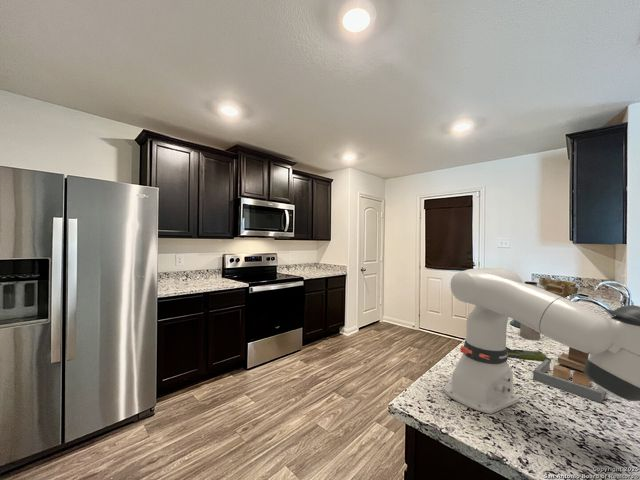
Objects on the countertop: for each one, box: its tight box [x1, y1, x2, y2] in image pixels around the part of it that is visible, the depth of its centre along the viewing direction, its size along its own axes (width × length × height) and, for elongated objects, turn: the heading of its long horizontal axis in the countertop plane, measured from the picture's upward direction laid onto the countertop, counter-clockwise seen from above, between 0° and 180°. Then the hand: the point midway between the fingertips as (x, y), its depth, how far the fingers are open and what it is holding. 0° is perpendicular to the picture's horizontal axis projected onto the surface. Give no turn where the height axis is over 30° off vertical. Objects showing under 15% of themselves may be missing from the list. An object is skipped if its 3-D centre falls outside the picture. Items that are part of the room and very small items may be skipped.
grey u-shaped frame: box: [532, 359, 607, 404], centre depth 90 cm, size 16×16×3 cm
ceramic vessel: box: [538, 276, 579, 298], centre depth 207 cm, size 23×24×25 cm
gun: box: [506, 346, 552, 363], centre depth 115 cm, size 2×19×15 cm
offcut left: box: [552, 364, 572, 381], centre depth 95 cm, size 4×4×3 cm
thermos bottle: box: [519, 281, 541, 341], centre depth 133 cm, size 8×8×28 cm
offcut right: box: [572, 370, 592, 388], centre depth 90 cm, size 4×4×3 cm
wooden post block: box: [557, 347, 590, 373], centre depth 101 cm, size 8×10×14 cm
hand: (577, 344), depth 101 cm, fingers closed on wooden post block, 3 cm apart
